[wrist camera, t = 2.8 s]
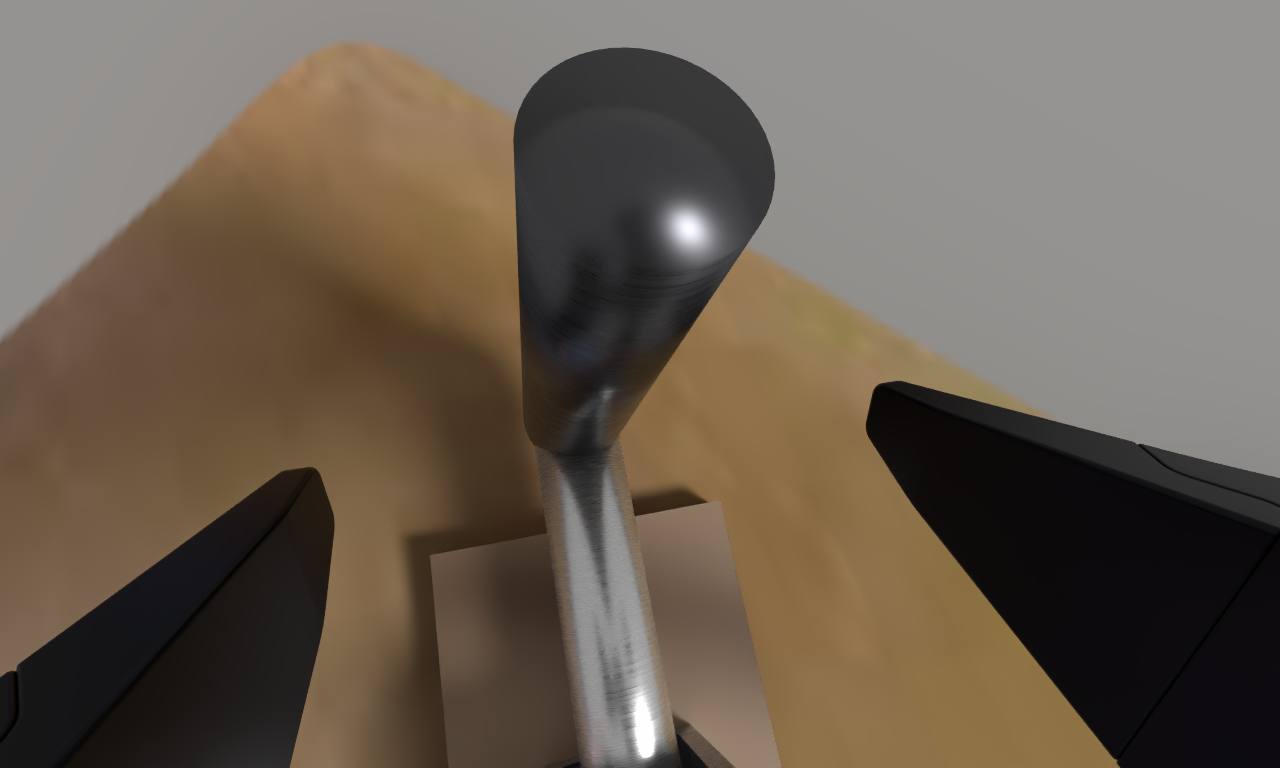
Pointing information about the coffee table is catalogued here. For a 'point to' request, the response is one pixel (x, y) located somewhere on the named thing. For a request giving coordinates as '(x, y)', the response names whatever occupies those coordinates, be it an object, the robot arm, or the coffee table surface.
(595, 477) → the black handled metal tool
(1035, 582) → the robot arm
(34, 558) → the coffee table surface
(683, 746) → the grey rectangular block
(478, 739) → the base board
